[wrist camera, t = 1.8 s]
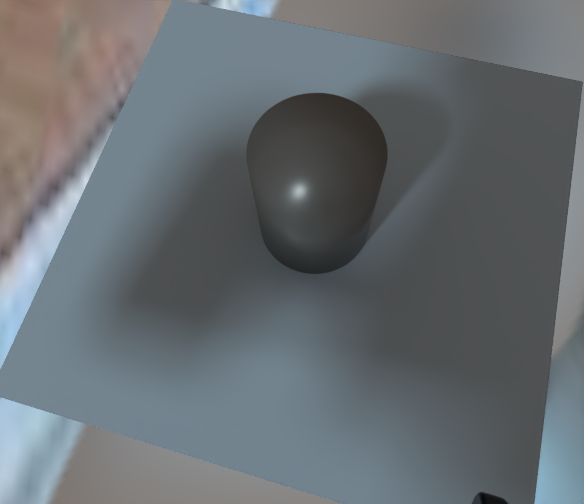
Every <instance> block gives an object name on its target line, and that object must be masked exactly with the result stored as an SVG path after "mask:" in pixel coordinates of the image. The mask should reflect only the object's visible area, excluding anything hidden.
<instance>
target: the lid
mask: <svg viewBox="0 0 584 504" xmlns="http://www.w3.org/2000/svg"><path fill="white" fill-rule="evenodd" d="M582 83H583V82H581V81H576V80H571V79H566V78H561V77H556V76H552V75H547V74H542V73H537V72H532V71H527V70H521V69H517V68H512V67H506V66H502V65H497V64H492V63H487V62H482V61H477V60H472V59H468V58H463V57H458V56H453V55H448V54H443V53H438V52H433V51H428V50H423V49H418V48H413V47H408V46H403V45H399V44H393V43H389V42H384V41H379V40H374V39H369V38H364V37H359V36H354V35H349V34H344V33H339V32H334V31H329V30H324V29H319V28H315V27H309V26H304V25H300V24H295V23H290V22H285V21H280V20H275V19H270V18H265V17H260V16H255V15H250V14H245V13H241V12H236V11H231V10H226V9H221V8H216V7H211V6H206V5H201V4H196V3H191V2H186V1H181V0H173V1H172V3H171V5H170V7H169V10H168V12H167V14H166V16H165V18H164V20H163V22H162V25H161V27H160V29H159V31H158V33H157V35H156V37H155V40H154V42H153V44H152V46H151V48H150V50H149V52H148V55H147V57H146V59H145V61H144V63H143V65H142V67H141V70H140V72H139V74H138V76H137V78H136V80H135V82H134V85H133V87H132V89H131V91H130V93H129V95H128V97H127V100H126V102H125V104H124V106H123V108H122V110H121V112H120V115H119V117H118V119H117V121H116V123H115V125H114V127H113V130H112V132H111V134H110V136H109V138H108V140H107V142H106V145H105V147H104V149H103V151H102V153H101V155H100V157H99V160H98V162H97V164H96V166H95V168H94V170H93V172H92V175H91V177H90V179H89V181H88V183H87V185H86V187H85V190H84V192H83V194H82V196H81V198H80V200H79V203H78V205H77V207H76V209H75V211H74V213H73V215H72V218H71V220H70V222H69V224H68V226H67V228H66V230H65V233H64V235H63V237H62V239H61V241H60V243H59V245H58V248H57V250H56V252H55V254H54V256H53V258H52V260H51V263H50V265H49V267H48V269H47V271H46V273H45V275H44V278H43V280H42V282H41V284H40V286H39V288H38V290H37V293H36V295H35V297H34V299H33V301H32V303H31V305H30V308H29V310H28V312H27V314H26V316H25V318H24V320H23V323H22V325H21V327H20V329H19V331H18V333H17V335H16V338H15V340H14V342H13V344H12V346H11V348H10V350H9V353H8V355H7V357H6V359H5V361H4V363H3V365H2V368H1V370H0V397H2V398H5V399H8V400H11V401H15V402H18V403H21V404H24V405H28V406H31V407H34V408H37V409H40V410H44V411H47V412H50V413H53V414H56V415H60V416H63V417H66V418H69V419H72V420H76V421H79V422H82V423H85V424H89V425H92V426H95V427H98V428H102V429H105V430H108V431H111V432H114V433H118V434H121V435H124V436H127V437H130V438H133V439H137V440H140V441H143V442H146V443H150V444H153V445H156V446H159V447H163V448H166V449H169V450H172V451H175V452H179V453H182V454H185V455H188V456H191V457H194V458H198V459H201V460H204V461H207V462H210V463H214V464H217V465H220V466H224V467H227V468H230V469H233V470H236V471H239V472H243V473H246V474H249V475H252V476H255V477H259V478H262V479H265V480H268V481H272V482H275V483H278V484H281V485H284V486H288V487H291V488H294V489H297V490H300V491H304V492H307V493H310V494H314V495H317V496H320V497H323V498H326V499H329V500H333V501H336V502H339V503H342V504H472V502H473V499H474V497H475V496H476V495H477V494H478V493H479V492H485V493H488V494H491V495H495V496H498V497H501V498H503V499H505V500H506V501H507V502H508V504H534V501H535V493H536V484H537V475H538V466H539V458H540V449H541V440H542V432H543V423H544V414H545V406H546V397H547V388H548V379H549V371H550V362H551V353H552V344H553V336H554V327H555V319H556V318H555V317H556V310H557V301H558V291H559V284H560V275H561V266H562V258H563V249H564V239H565V231H566V222H567V214H568V204H569V197H570V187H571V179H572V171H573V161H574V153H575V144H576V136H577V126H578V118H579V109H580V101H581V92H582Z"/></svg>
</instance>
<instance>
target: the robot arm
mask: <svg viewBox="0 0 584 504" xmlns="http://www.w3.org/2000/svg"><path fill="white" fill-rule="evenodd" d="M472 504H508V502H507V501H506V500H505V499H503V498H501V497H498V496H495V495H491V494H488V493H485V492H479V493H478V494H477V495H476V496H475V497H474V499H473V502H472Z"/></svg>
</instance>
